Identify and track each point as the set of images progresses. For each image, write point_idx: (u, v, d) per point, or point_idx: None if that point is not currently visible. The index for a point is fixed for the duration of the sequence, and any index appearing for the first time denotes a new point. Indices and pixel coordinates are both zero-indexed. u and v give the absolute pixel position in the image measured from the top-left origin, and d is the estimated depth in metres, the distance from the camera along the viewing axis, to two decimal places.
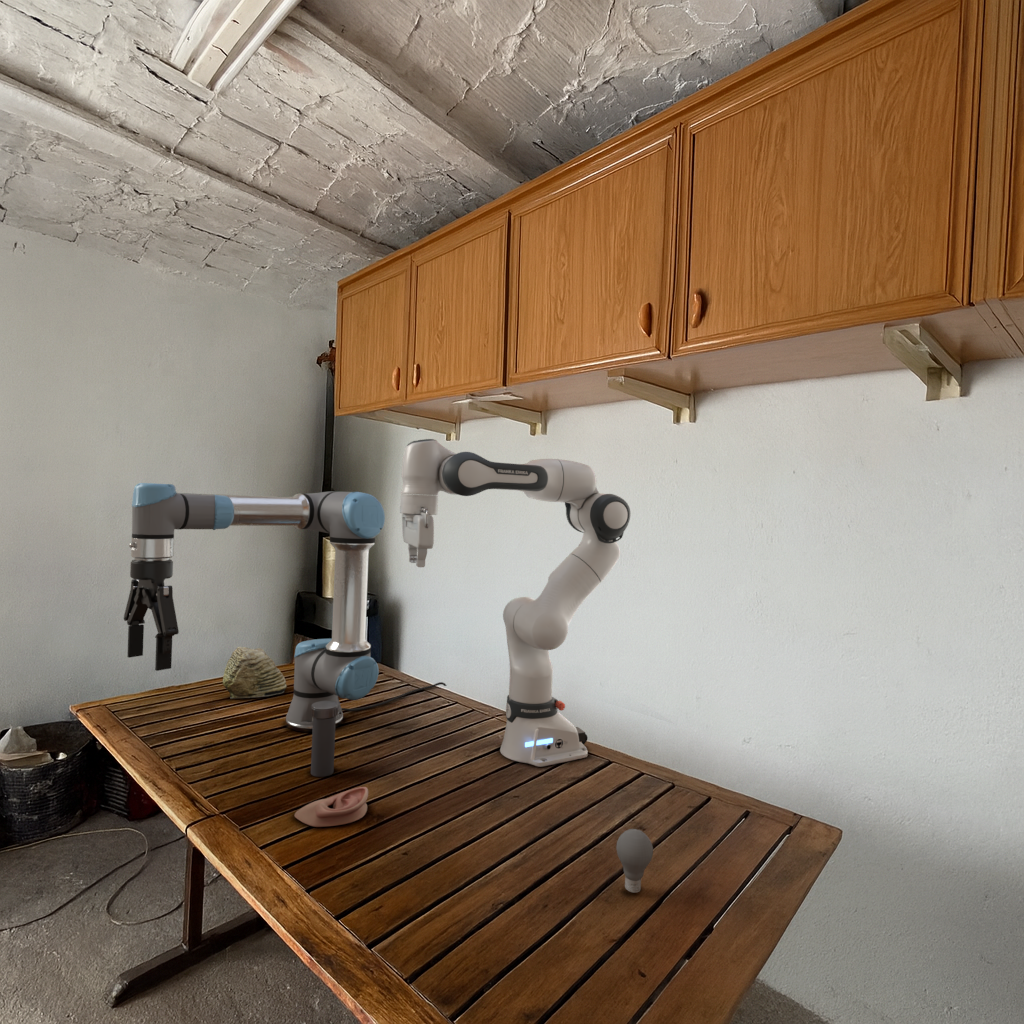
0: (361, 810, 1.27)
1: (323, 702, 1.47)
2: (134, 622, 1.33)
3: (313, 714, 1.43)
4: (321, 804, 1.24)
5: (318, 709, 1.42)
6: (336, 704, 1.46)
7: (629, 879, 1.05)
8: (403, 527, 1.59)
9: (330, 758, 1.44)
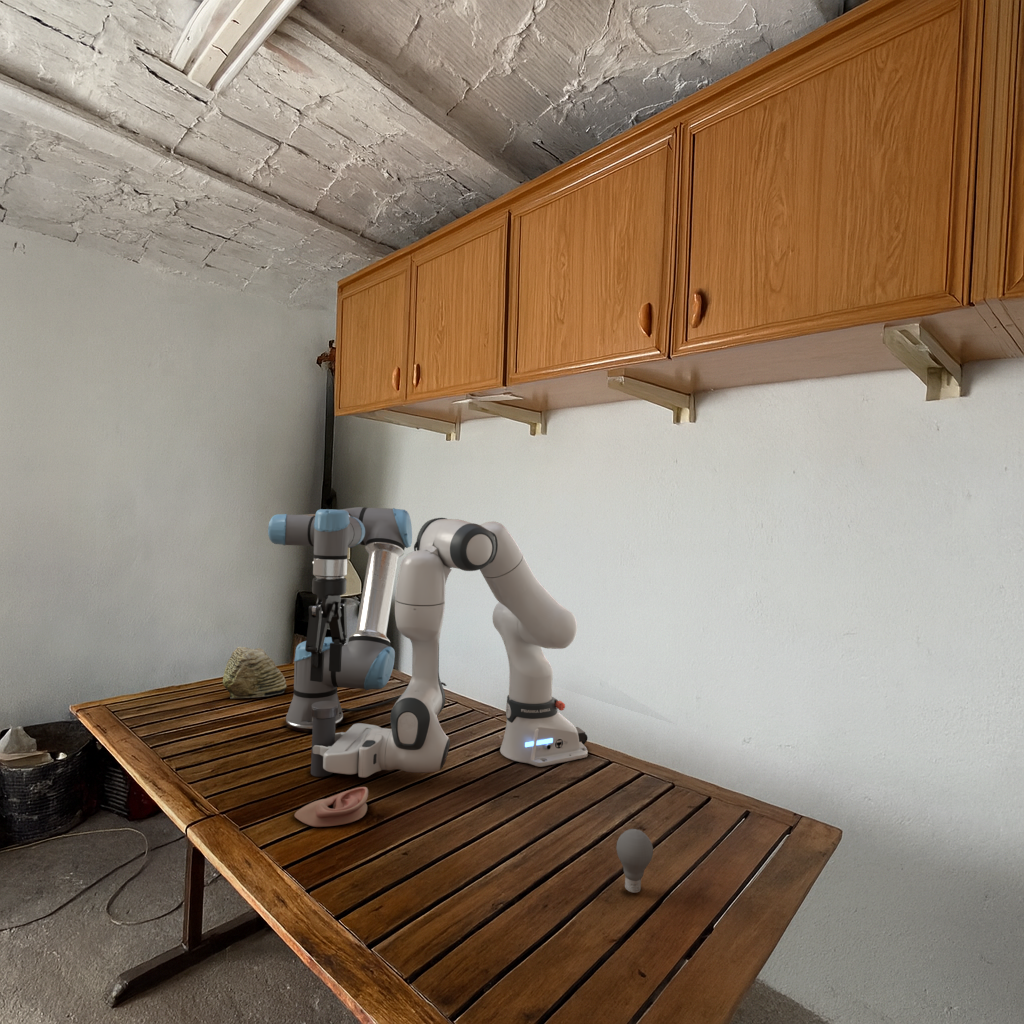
0: (361, 810, 1.27)
1: (323, 702, 1.47)
2: (335, 639, 1.50)
3: (313, 714, 1.43)
4: (321, 804, 1.24)
5: (318, 709, 1.43)
6: (336, 704, 1.46)
7: (629, 879, 1.05)
8: None
9: None
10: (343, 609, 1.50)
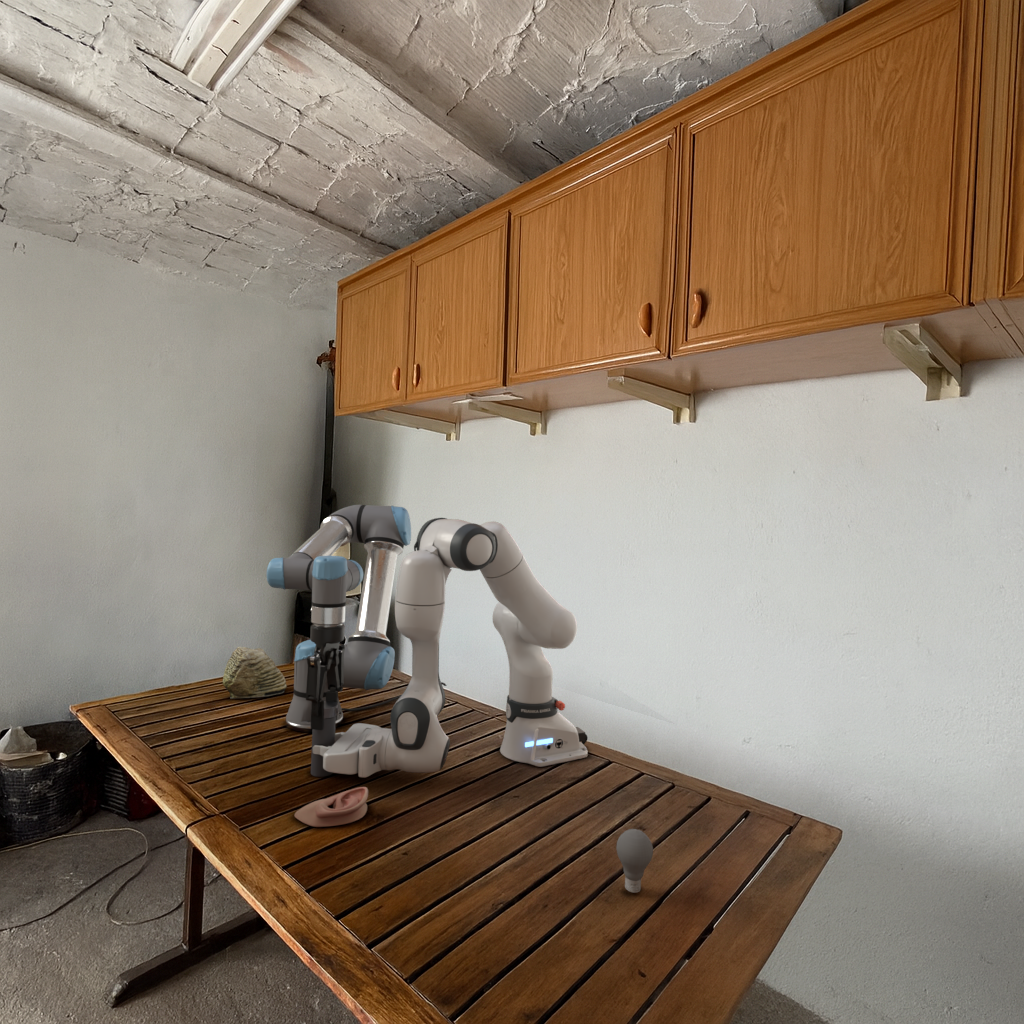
0: (361, 810, 1.27)
1: None
2: (332, 687, 1.49)
3: None
4: (321, 804, 1.24)
5: None
6: (336, 704, 1.46)
7: (629, 879, 1.05)
8: None
9: None
10: (341, 656, 1.50)
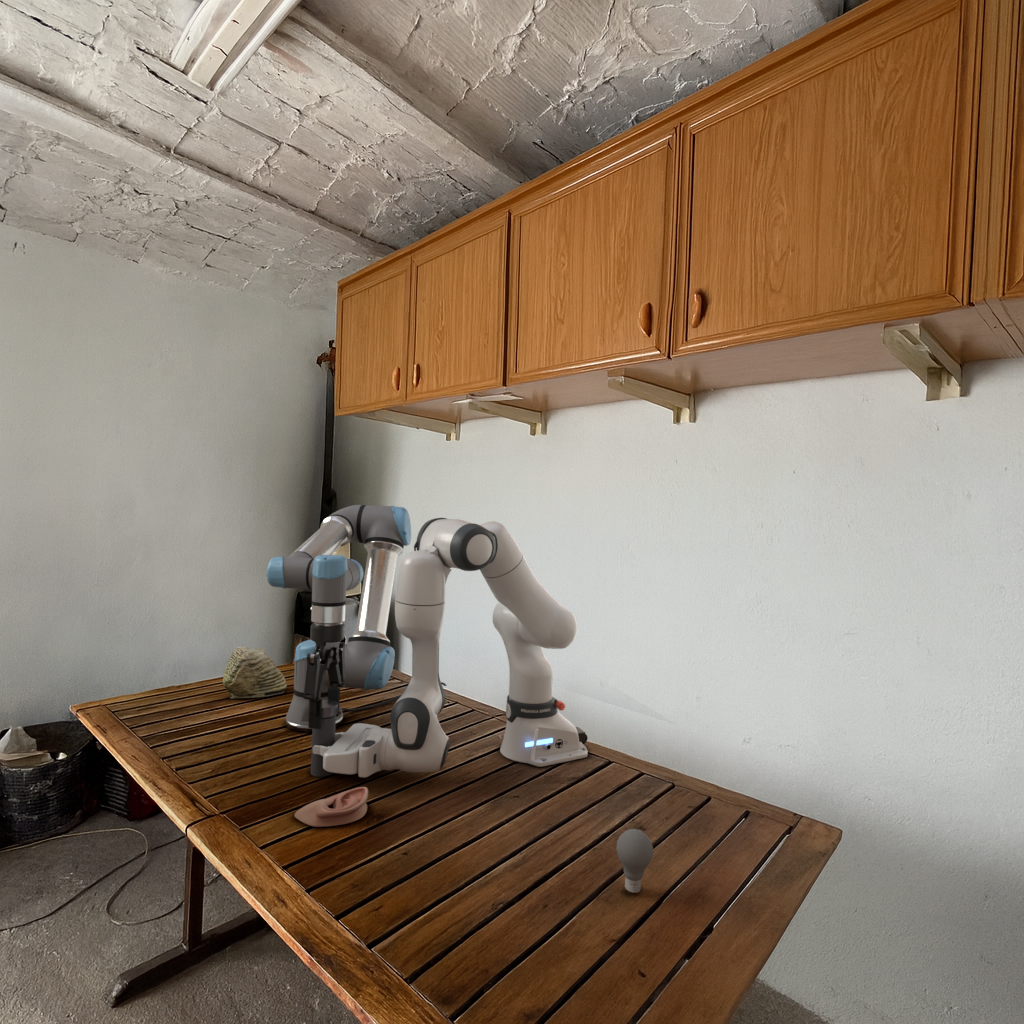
0: (361, 810, 1.27)
1: None
2: (334, 684, 1.50)
3: (328, 714, 1.43)
4: (321, 804, 1.24)
5: (333, 707, 1.44)
6: (329, 700, 1.48)
7: (629, 879, 1.05)
8: None
9: None
10: (341, 653, 1.50)
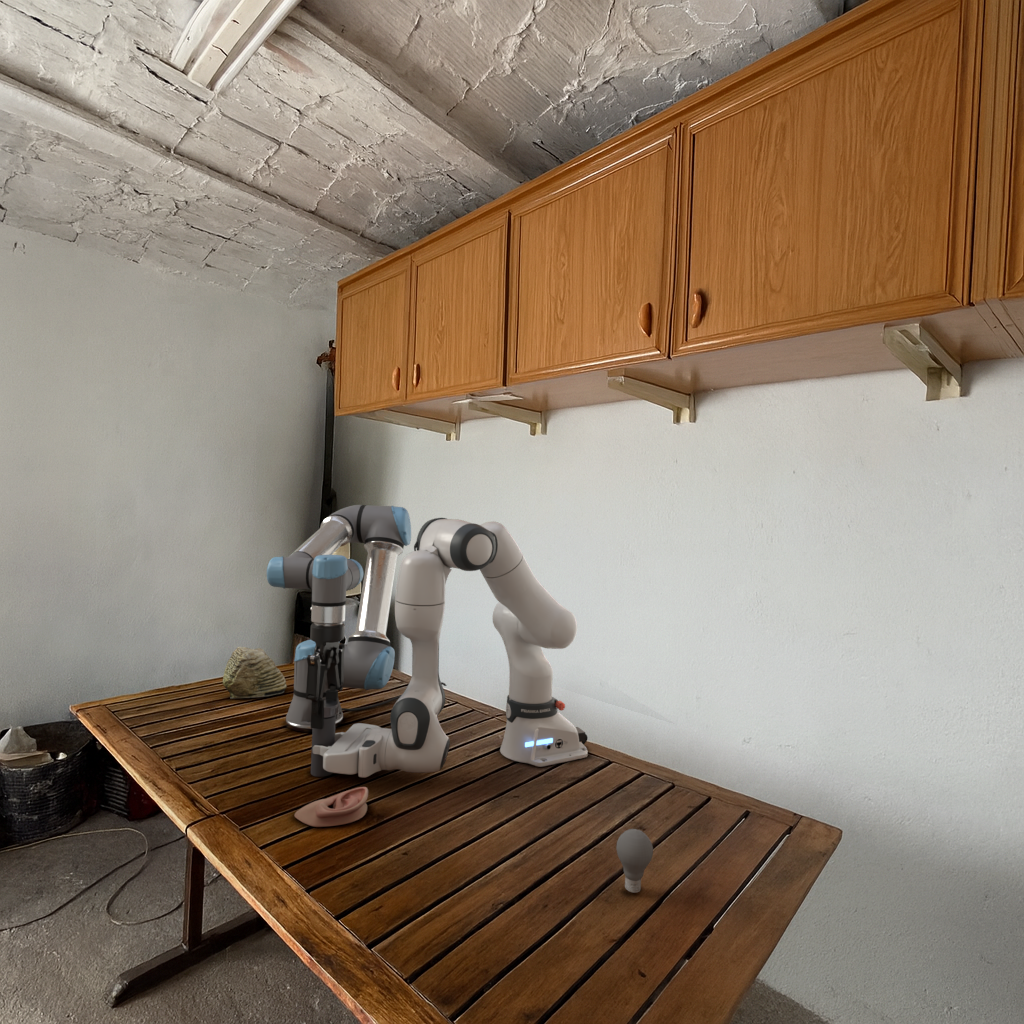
0: (361, 810, 1.27)
1: None
2: (332, 686, 1.49)
3: (328, 714, 1.43)
4: (321, 804, 1.24)
5: (333, 707, 1.44)
6: (329, 700, 1.48)
7: (629, 879, 1.05)
8: None
9: None
10: (341, 655, 1.50)
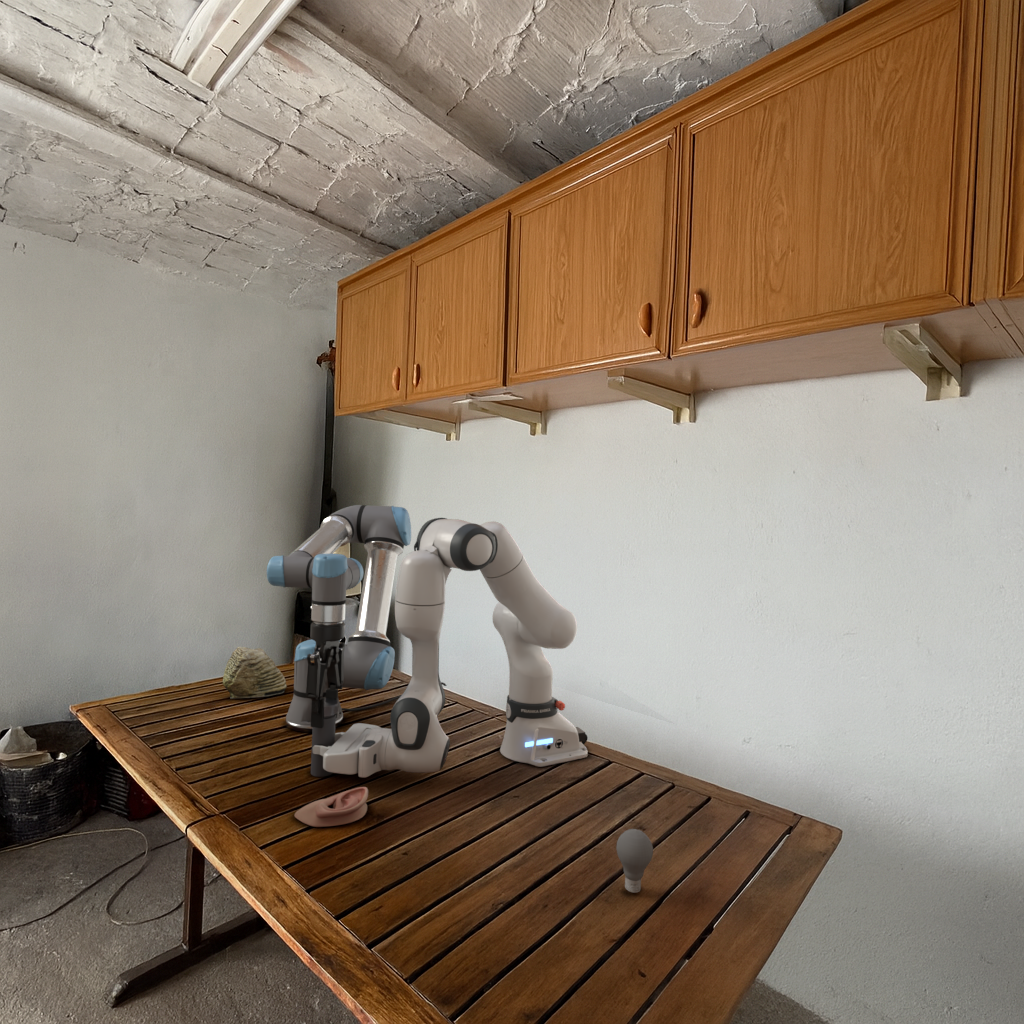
0: (361, 810, 1.27)
1: None
2: (332, 685, 1.49)
3: (337, 708, 1.46)
4: (321, 804, 1.24)
5: None
6: None
7: (629, 879, 1.05)
8: None
9: None
10: (341, 654, 1.50)
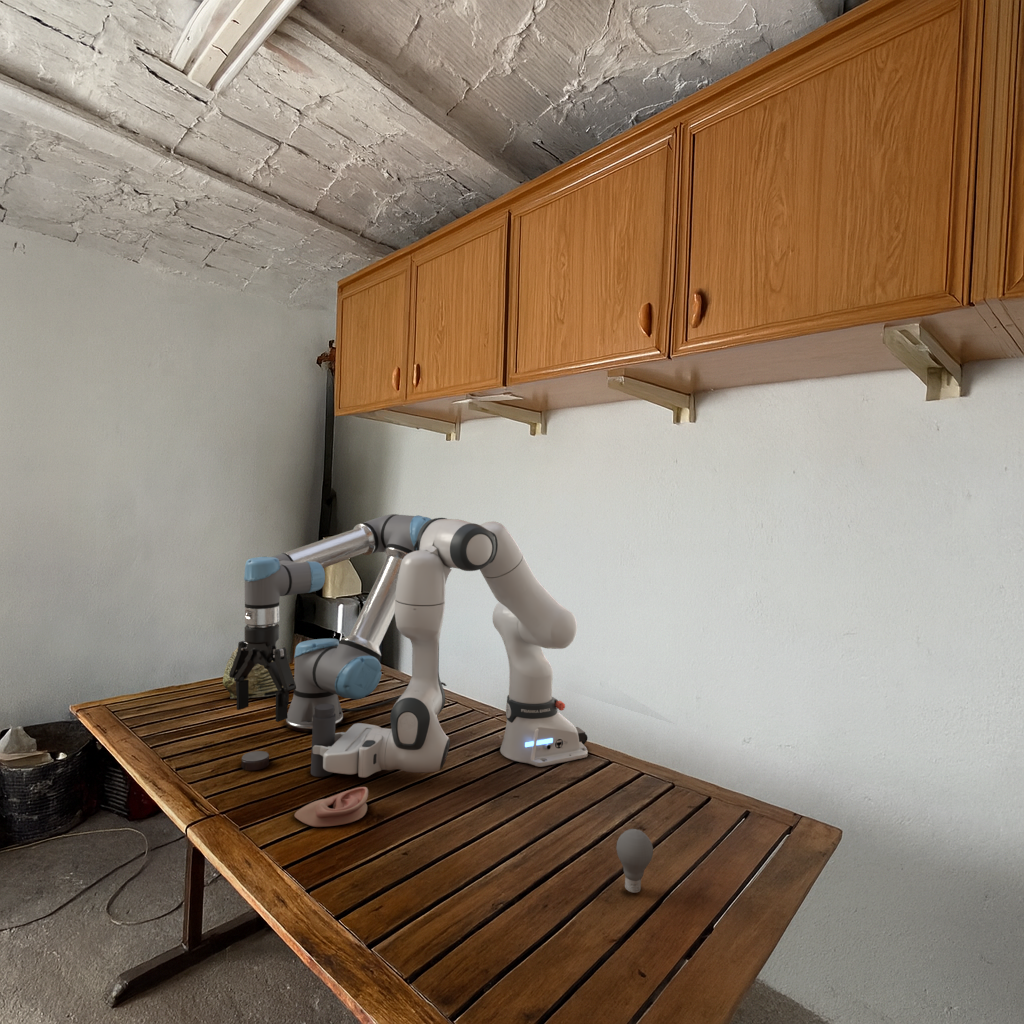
0: (361, 810, 1.27)
1: (260, 757, 1.47)
2: (240, 678, 1.51)
3: None
4: (321, 804, 1.24)
5: None
6: (244, 758, 1.46)
7: (629, 879, 1.05)
8: None
9: None
10: (248, 650, 1.52)
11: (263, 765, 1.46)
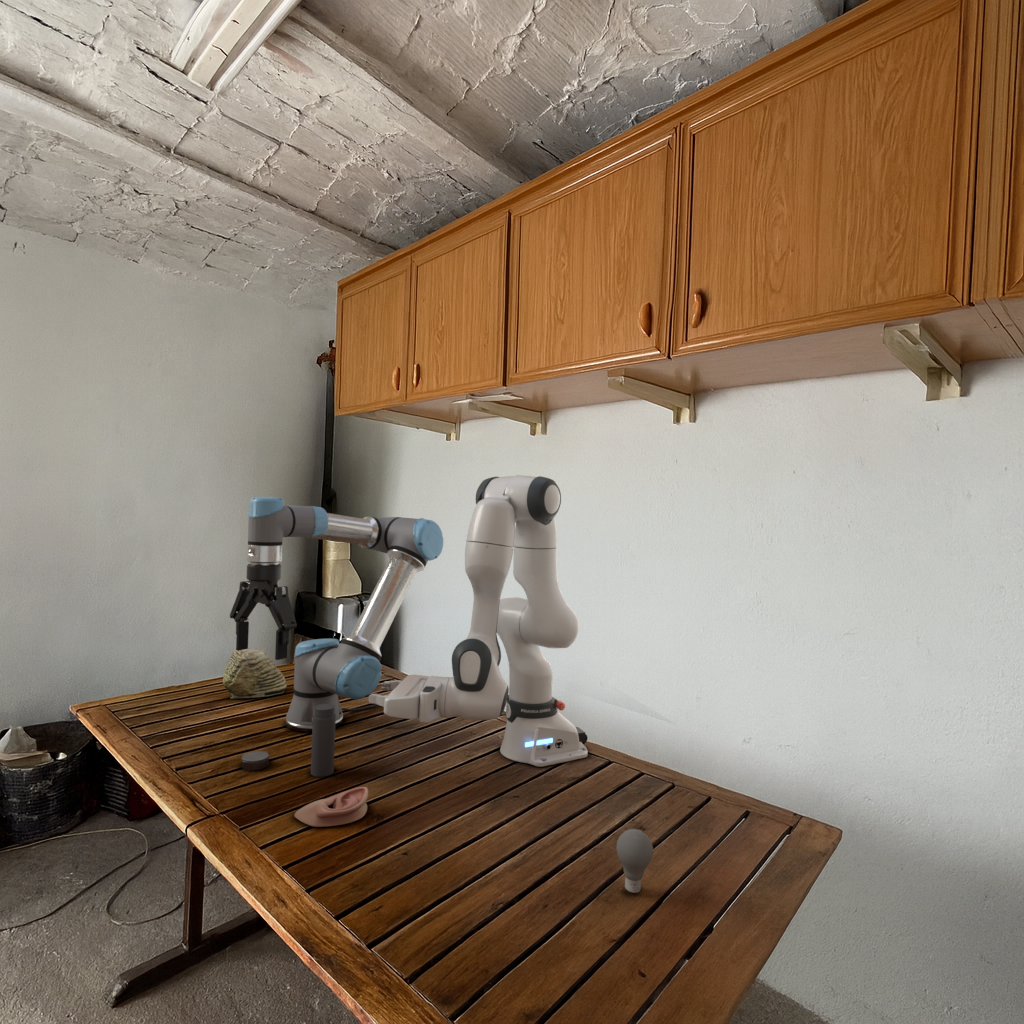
0: (361, 810, 1.27)
1: (260, 757, 1.47)
2: (241, 619, 1.51)
3: None
4: (321, 804, 1.24)
5: None
6: (244, 758, 1.46)
7: (629, 879, 1.05)
8: None
9: (330, 758, 1.44)
10: (249, 591, 1.51)
11: (263, 765, 1.46)
